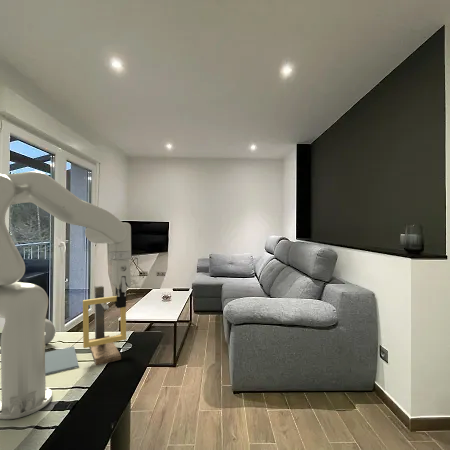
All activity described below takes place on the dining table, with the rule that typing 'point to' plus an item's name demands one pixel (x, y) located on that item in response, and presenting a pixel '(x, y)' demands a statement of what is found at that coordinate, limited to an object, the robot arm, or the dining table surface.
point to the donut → (49, 331)
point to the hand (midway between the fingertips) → (120, 306)
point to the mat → (60, 360)
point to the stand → (102, 334)
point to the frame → (86, 323)
